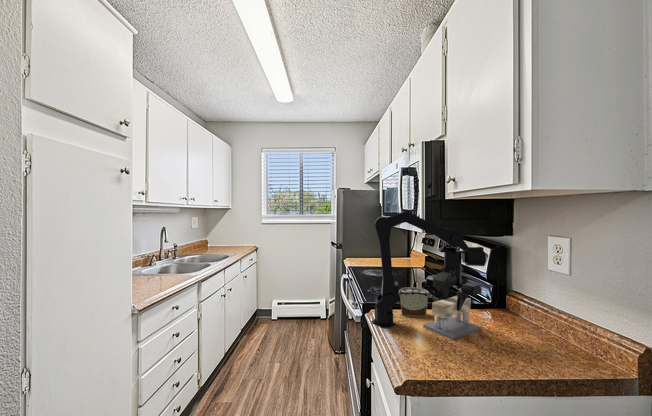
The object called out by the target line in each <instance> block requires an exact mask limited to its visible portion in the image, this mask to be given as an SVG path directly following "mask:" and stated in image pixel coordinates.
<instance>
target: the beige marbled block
mask: <svg viewBox="0 0 652 416" xmlns="http://www.w3.org/2000/svg"><path fill="white" fill-rule="evenodd" d="M471 299H472V298H470V297H467V299H466V300H465V302H464V304H463V306H462V308H461V310H460V311H458V310H457V295H454V296H451V297H448V298H447V299H443V300H442V299H440V300H435V301H433V302H432V304H431V305H432V306H431V314H432V315H434V316H436V315H437V316H439V317H441V319H442V318H448V317H454V316H455V315H456V314H459V313H461V314H463V312H469V311H471V305H472V304H471V303H472V300H471Z"/></svg>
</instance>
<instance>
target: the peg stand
mask: <svg viewBox="0 0 652 416" xmlns="http://www.w3.org/2000/svg"><path fill="white" fill-rule="evenodd" d="M469 314H470V313H469V312H468V311H465V312H462V313H459V314H456V315H454V316H451V317H448V318H442V317H439V316H437V315H434V321H430V322H428V323H424V324H423V325H422V327H423V328H424V329H426V330H428V331H431V332H433V333H435V334H437V335H440V336H442V337H446V338H448V339H450V340H452V341H454V340H457V339H459V338H462V337H465V336H468V335H470V334H473V333H476V332H478V331H481V329H482V328H481V326H479V325H476V324H473V323H470V322H469V319H470V318H469V317H470V315H469Z"/></svg>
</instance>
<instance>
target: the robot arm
mask: <svg viewBox="0 0 652 416" xmlns="http://www.w3.org/2000/svg"><path fill="white" fill-rule="evenodd" d="M404 223H407V224H409V225H411V226H413V227H416V228H418V229H420V230H422V231H424V232H427V233H429V234H431V235H432V236H434V237H436V238H437V239H439V240H441V241H442V242H444V243H445V244H446V245H448V246H449V247H447V246H446V245H444V244H442V246H441V247H439V249H437V250H438V251H439V252H440V253H443V254H444V257H443V263H444V264H443V267H442V266H441V268H440V269H441V270H440V272H438V273H437V274H432V275H427V277H426V279H425V280H426V281H425V284H427V285H431V286H432V287H433V288H434V289H436V290H437V291H438V294H439V296H440V300H443V299H447V298H449V292H450V287H451V288H453V289H454V288H455V289H458V291H457V292H456V291H455V296H457V310H458V311H460V310H461V308H462V306H463V304H464V302H465V300H466V299H467V298H469V296H472V297H473V296H477V295H481V294H482V292H483V288H482V286H481V285H480V284H476V283H471V282H469V283H464V279H462V272H464V267H462V263H464V264H465V266H467V267H469V266H471V267H485V265H486V264H487V257H486V253H485V249H484V247H483V246H468V244H467V243H466V242H465V239H464V234H463V233H462V232H461V231H459V230H455V229H452V228H447V227H443V226H440V225H437V224H436V223H432V222H431V221H428V220H426V219H424V218H421V217H419V216H417V215H414V214H412V213H411V212H409V211H407V210H402V211H400V212H399V213H396V214H392V215H390V216H387V217H386V216H379V217H378V218H376V220H375V221H374V227H375V230H376V234H377V237H378V241H379V249H380V259H381V269H382V270H381V271H382V272H381V273H382V281H381V290H380V291H381V293H379V294H378V295H377V296H376V297H375V305H374V319H373V320H371V323H373V324H374V325H377V326H379V327H380V328H383V329H384V328H388V327H391V326H392V327H393V326H394V325H396V322H395V321H394V310H393V306H394V305H396V304H397V303H398V301H399V298H400V294H399V291H400V289H399V288H400V287H399V286H400V285H399V283H398V281H394V276H393V275H394V274H393V267H392V266H393V265H392V256H391V255H392V253H391V243H390V240H391V233H392V228H394V227H397V226H399V225H401V224H404ZM450 246H451V247H450ZM456 248H458V249H460V250H457V249H456Z"/></svg>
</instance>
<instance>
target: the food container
mask: <svg viewBox="0 0 652 416" xmlns="http://www.w3.org/2000/svg"><path fill="white" fill-rule="evenodd" d="M398 292H399V295H400V297H399V300H400V311H401V312H400V313H401V316H403V317H404V316H406V317H407V316H408V317H427V311H428V301H429V298H430V297H431V296H430V291H428V290H427V289H424V288H421V287H412V286H411V287H408V286H407V287H401V288H400V289H399V290H398Z"/></svg>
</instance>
